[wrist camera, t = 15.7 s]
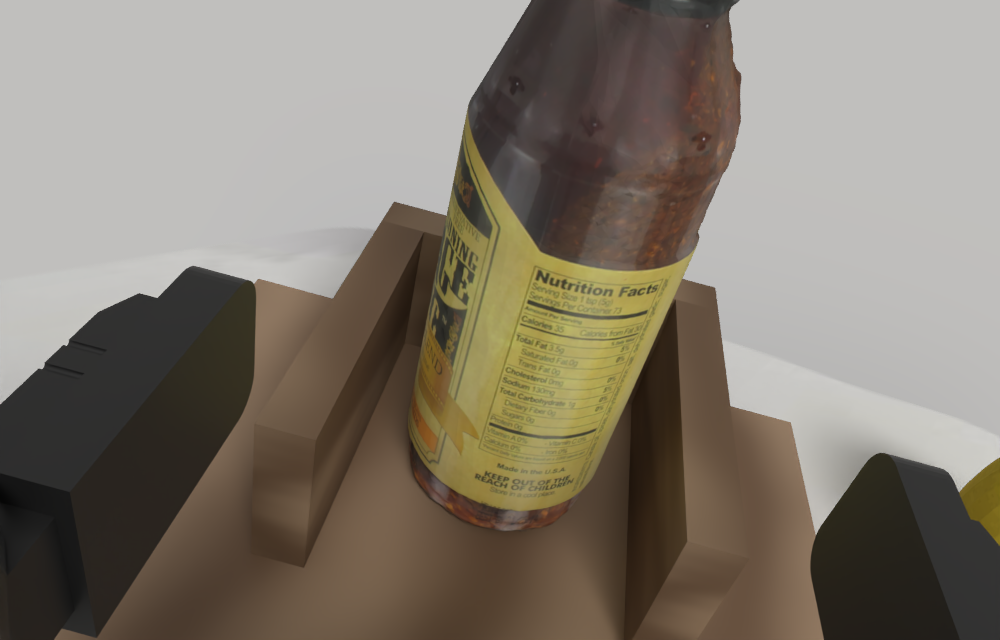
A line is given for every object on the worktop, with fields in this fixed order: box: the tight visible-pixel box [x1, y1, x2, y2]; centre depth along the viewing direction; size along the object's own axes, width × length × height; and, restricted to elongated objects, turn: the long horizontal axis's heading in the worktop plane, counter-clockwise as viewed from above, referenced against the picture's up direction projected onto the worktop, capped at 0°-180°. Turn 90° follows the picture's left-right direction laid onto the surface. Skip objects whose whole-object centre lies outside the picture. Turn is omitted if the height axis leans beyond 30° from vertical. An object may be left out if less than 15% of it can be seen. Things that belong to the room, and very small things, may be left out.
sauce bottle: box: [408, 0, 741, 532], centre depth 19 cm, size 7×6×20 cm
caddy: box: [54, 202, 824, 640], centre depth 22 cm, size 22×18×6 cm
